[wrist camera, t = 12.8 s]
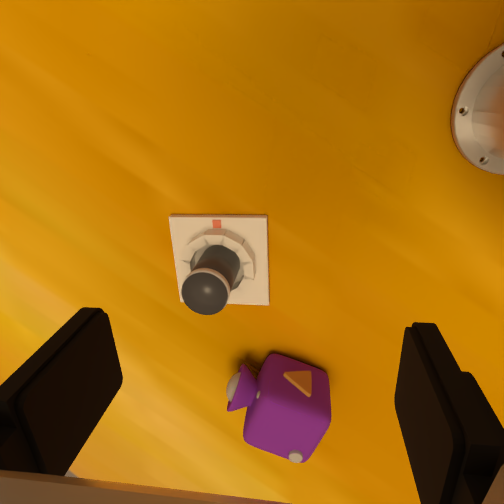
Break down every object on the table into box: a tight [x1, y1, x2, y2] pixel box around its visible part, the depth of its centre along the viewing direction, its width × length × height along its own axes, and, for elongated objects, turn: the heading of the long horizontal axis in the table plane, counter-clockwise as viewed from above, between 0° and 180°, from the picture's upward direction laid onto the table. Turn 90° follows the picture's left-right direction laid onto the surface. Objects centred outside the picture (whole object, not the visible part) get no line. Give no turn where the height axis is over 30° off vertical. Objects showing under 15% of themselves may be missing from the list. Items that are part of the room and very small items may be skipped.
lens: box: [181, 245, 240, 315], centre depth 42 cm, size 5×5×8 cm
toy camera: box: [227, 354, 331, 463], centre depth 49 cm, size 11×14×10 cm
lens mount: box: [169, 215, 270, 305], centre depth 45 cm, size 12×12×3 cm
